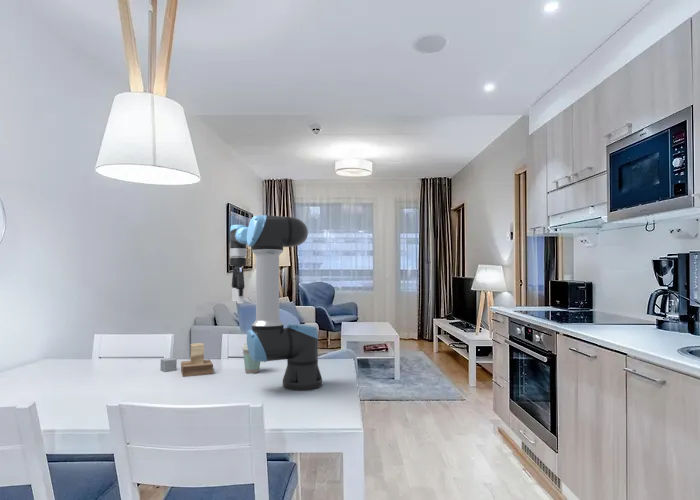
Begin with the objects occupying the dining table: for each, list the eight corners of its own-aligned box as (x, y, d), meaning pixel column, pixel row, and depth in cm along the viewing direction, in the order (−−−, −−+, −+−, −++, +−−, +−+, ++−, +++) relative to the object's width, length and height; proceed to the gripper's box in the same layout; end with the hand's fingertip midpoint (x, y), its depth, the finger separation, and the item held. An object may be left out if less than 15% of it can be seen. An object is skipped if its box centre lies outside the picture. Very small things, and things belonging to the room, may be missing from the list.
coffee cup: (264, 370, 197) (264, 342, 198) (258, 374, 189) (259, 346, 189) (245, 369, 198) (246, 342, 199) (239, 374, 190) (239, 345, 190)
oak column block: (203, 363, 192) (203, 344, 192) (191, 364, 190) (191, 345, 190) (202, 361, 196) (202, 343, 196) (190, 362, 194) (190, 343, 194)
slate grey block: (176, 370, 196) (176, 359, 197) (164, 372, 193) (165, 360, 193) (171, 368, 200) (171, 357, 200) (160, 370, 197) (160, 359, 197)
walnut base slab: (212, 374, 190) (213, 364, 190) (182, 376, 185) (182, 367, 185) (209, 368, 201) (209, 359, 201) (181, 370, 196) (181, 361, 196)
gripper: (251, 256, 203) (251, 304, 202) (241, 258, 225) (240, 300, 225) (234, 256, 200) (234, 304, 199) (226, 257, 222) (225, 300, 222)
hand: (237, 302), depth 212 cm, fingers open, 13 cm apart
